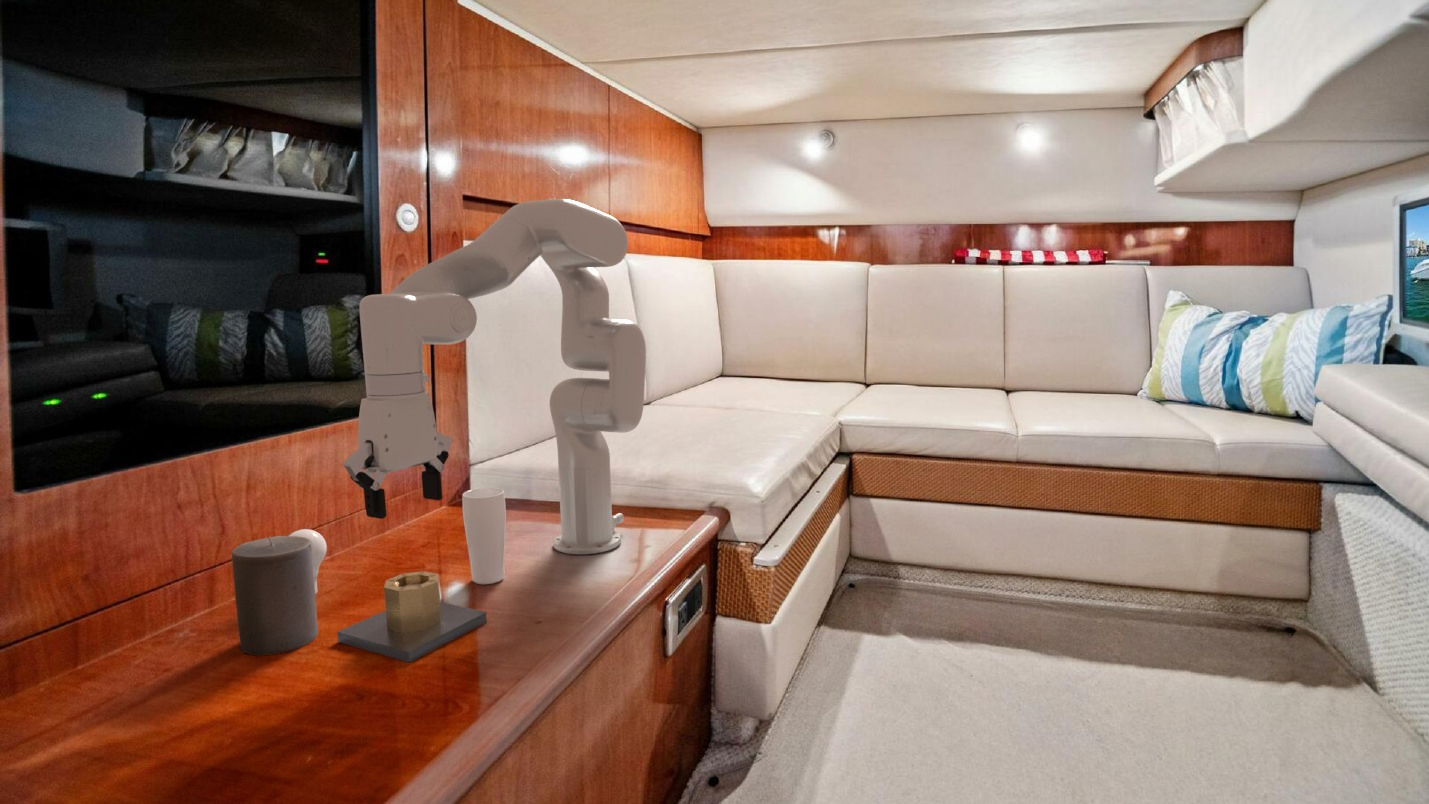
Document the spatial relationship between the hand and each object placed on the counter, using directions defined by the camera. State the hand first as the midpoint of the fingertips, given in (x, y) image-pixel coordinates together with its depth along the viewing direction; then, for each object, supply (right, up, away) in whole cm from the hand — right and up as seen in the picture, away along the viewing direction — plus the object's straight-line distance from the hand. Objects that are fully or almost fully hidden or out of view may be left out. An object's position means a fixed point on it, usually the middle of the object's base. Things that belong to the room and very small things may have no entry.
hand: (405, 507), depth 110 cm
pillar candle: (-18, -19, +1) cm, 26 cm away
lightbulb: (-22, -17, +16) cm, 32 cm away
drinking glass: (+5, -15, +22) cm, 27 cm away
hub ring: (0, -16, +2) cm, 17 cm away
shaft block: (0, -18, +2) cm, 18 cm away
